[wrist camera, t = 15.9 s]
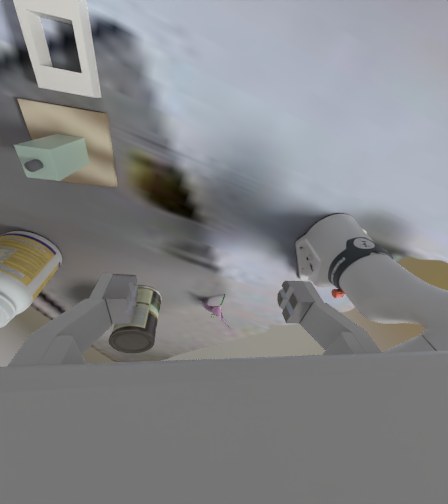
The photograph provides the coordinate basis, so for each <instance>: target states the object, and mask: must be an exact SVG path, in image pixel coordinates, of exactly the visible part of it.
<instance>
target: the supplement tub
mask: <svg viewBox="0 0 448 504" xmlns="http://www.w3.org/2000/svg"><path fill="white" fill-rule="evenodd" d="M61 264H62V256H61V253H60V251H59V250H58V249H57V247H56V246H55V245H54V244H53V243H51V242H50V241H49V240H47V239H45V238H43V237H41V236H39V235H37V234H34V233H30V232H25V231H12V232H8V233H5V234H2V235H0V328H1V327H3V326H5V325H6V324H7V323H8V322H9V321H10V320H11V319H13V318H14V316H15V315H17V314H19V313H21V312H23V311H24V310H26V309H27V308H28V307H29V306H30V305H31V303H32V302H33V300H34V299H35V298H36V297H37V295H38V294H39V293H40V292H41V290H42V289H43V288H44V287H45V285H46V284H47V283H48V282H49V280H50V279H51V278H52V276H53V275H54V274H55V273H56V271H57V270H58V269H59V268H60V266H61Z"/></svg>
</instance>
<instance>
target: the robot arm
mask: <svg viewBox="0 0 448 504" xmlns="http://www.w3.org/2000/svg"><path fill="white" fill-rule="evenodd" d="M295 247H296V255H297V263H298V271H299V278H300V279H301V280H304V281H285V282H283V284H282V287H283V289H281V290H280V291H279V293H278V299H277V300H278V304H279V307H281V308H282V309H283V312H282V314H283V316H284V319H285V321H286V323H300V325H301V326H302V327H303V328H304V329H305V330H306V331H307V332H308V333H309V334H310V335H311V336H312V337H313V338H314V339H315V340H316V341H317V342H318V343H319V344H320V345H321V346H322V347H323V348H324V349H325V350H326V351H325V352H324V353H323V355H311V356H286V357H285V356H284V357H256V358H230V359H203V360H176V361H147V362H120V363H93V364H86V362H85V360H84V358H83V356H82V354H83V353H84V352H85V351H86V350H87V349H88V348H89V347H90V346H91V345H92V344H93V343H94V342H95V341H96V340H97V339H98V338H99V337H100V336H101V335H102V334H103V333H104V332H105V331H106V330H107V329H108V328H109V327H110V326H111V325H112V324H129V323H131V320H132V317H133V314H134V309H133V307H134V306H135V305H136V303H137V299H138V287H137V286H136V282H137V277H136V275H124V274H105V273H103V274H102V275H101V276H100V278H99V280H98V282H97V284H96V286H95V288H94V289H93V291H92V293H91V295H90V297H89V299H84V300H82V301H81V302H79V303H78V304H76V305H75V306H73V307H72V308H70V309H69V310H67V311H66V312H64V313H62V314H61V315H59V316H58V317H56V318H55V319H53V320H52V321H50V322H49V323H47V324H46V325H44V326H43V327H41V328H39V329H38V330H36V331H35V332H33V333H32V334H30V335H29V336H28V338H27V339H26V341H25V342H24V343H23V345H22V346H21V348H20V349H19V351H18V352H17V353H16V355H15V356H14V358H13V359H12V361H11V362H10V363H9V365H8V366H7V367H0V504H448V291H447V290H443V289H440V288H438V287H435V286H432V285H430V284H428V283H426V282H424V281H422V280H421V279H419V278H418V277H416V276H415V275H413V274H411V273H410V272H409V271H407V270H406V269H404V268H403V267H402V266H400V265H399V264H398V263H397V262H395V261H394V260H393V257H392V256H391V255H390V254H389V253H388V252H387V251H386V250H384V249H383V248H382V247H381V246H380V245H378V244H377V243H375V242H374V241H373V240H372V239H371V238H370V237H369V236H368V235H367V232H366V231H365V230H364V229H363V228H361V227H360V226H359V225H358V223H357V222H356V220H355V219H354V218H353V217H352V216H350V215H347V214H335V215H331V216H328V217H326V218H324V219H322V220H320V221H319V222H317V223H316V224H315V225H314V226H313V227H312V228H311V229H310V230H309V231H308V232H307V234H306V235H304V236H303V237H301V238H300V239H298V240H297V241H296V243H295ZM309 281H312V282H313V284H314V285H316V286H318V287H334V286H335V287H337V288H338V289H334V290H332V295H333V297H334V298H338V297H343V296H344V294H346V295H347V297H348V298H349V299H350V301H351V302H352V303H353V305H354V306H355V307H356V308H357V309H358V311H359V312H360V314H362V315H363V316H364V317H365V318H367V319H369V320H371V321H374V322H379V323H388V324H389V323H391V324H392V323H413V324H417V325H421V326H423V327H425V330H424V332H422V334H420V335H418V336H416V337H414V338H412V339H410V340H407V341H406V342H403V343H401V344H399V345H397V346H395V347H393V348H391V349H388V350H386V351H384V352H381V351H380V349H379V348H378V347H377V345H376V344H375V342H374V341H373V340H372V338H371V337H370V336H369V334H368V333H367V332H366V331H365V330H364V329H362V328H361V327H360V326H358V325H357V324H355V323H354V322H352V321H351V320H350V319H348V318H347V317H346V316H344V315H343V314H341V313H340V312H338V311H337V310H336V309H334V308H333V307H331V306H330V305H329V304H327V303H324V302H323V300H322V299H321V297H320V296H319V294H318V293H317V291H316V289H315V288H314V286H313V285H312V283H311V282H309Z"/></svg>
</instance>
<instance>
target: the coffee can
mask: <svg viewBox="0 0 448 504" xmlns="http://www.w3.org/2000/svg"><path fill="white" fill-rule="evenodd" d="M137 287H138V299H137V303H136V305H135V306H134V307H133V309H134V314H133V317H132V320H131V323H129V324H115V326H114V328H113V331H112V334H111V335H110V338H109V344H110V345H111V346H112V347H113V348H114V349H116V350H118V351H121V352H125V353H140V352H144V351H147V350H149V349H150V348H152V347H153V345H154V342H155V333H156V327H157V321H158V315H159V310H160V304H161V300H162V297H161V294H160V293H159V292H158V291H157V290H156V289H154V288H152V287H149V286H137Z"/></svg>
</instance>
